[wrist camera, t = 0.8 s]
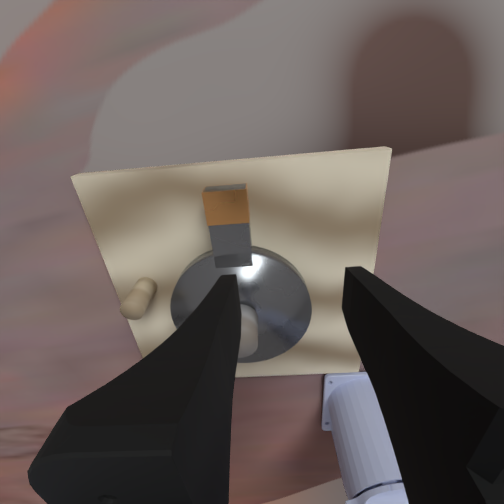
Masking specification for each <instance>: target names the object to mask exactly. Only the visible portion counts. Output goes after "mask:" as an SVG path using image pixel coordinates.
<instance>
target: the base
mask: <svg viewBox="0 0 504 504" xmlns="http://www.w3.org/2000/svg"><path fill="white" fill-rule="evenodd" d="M391 152H392V149H391V148H388V147H375V148H363V149H351V150H339V151H328V152H317V153H305V154H294V155H282V156H271V157H259V158H248V159H236V160H225V161H213V162H203V163H191V164H179V165H168V166H157V167H145V168H135V169H134V168H133V169H122V170H110V171H99V172H88V173H79V174H76V175H74V176H71V179H72V182H73V184H74V187H75V189H76V192H77V194H78V197H79V199H80V202H81V204H82V207H83V209H84V212H85V214H86V217H87V219H88V222H89V224H90V227H91V229H92V232H93V234H94V237H95V239H96V242H97V244H98V247H99V249H100V252H101V254H102V257H103V259H104V262H105V264H106V267H107V269H108V272H109V274H110V277H111V279H112V282H113V284H114V287H115V289H116V292H117V294H118V297H119V299H120V302H121V304H122V305H121V306H120V312H121V314H122V315H123V316H124V317H125V318H127V319H128V322H129V324H130V327H131V329H132V332H133V334H134V337H135V339H136V342H137V344H138V347H139V349H140V352H141V354H142V357H143V358H144V357H146V356H147V355H148V354H149V353H150V352H152V351H153V350H154V349H155V348H157V347H158V346H159V345H160V344H162V343H163V342H164V341H165V340H166V339H167V338H168V337H169V336H171V335H172V334H173V333H174V332H175V331H176V330H177V329H176V327H175V325H174V323H173V320H172V316H171V310H170V303H171V296H172V293H173V290H174V288H175V285H176V283H177V281H178V279H179V277H180V275H181V273H182V272H183V270H184V269H185V268H186V266H187V265H188V264H189V263H190V262H191V261H193V260H194V259H195V258H197V257H198V256H200V255H202V254H203V253H205V252H207V251H210V250H212V244H211V238H210V232H209V227H208V226H207V221H206V216H205V210H204V204H203V199H202V191H203V189H204V188H205V186H217V185H229V184H241V183H247V188H248V199H249V209H250V228H251V239H252V246H257V247H261V248H265V249H268V250H270V251H273V252H275V253H277V254H279V255H281V256H282V257H284V258H285V259H287V260H288V261H289V262H290V263H292V264H293V265H294V266H295V267H296V268H297V270H298V271H299V272H300V273H301V275H302V277H303V278H304V280H305V283H306V285H307V288H308V292H309V296H310V300H311V305H312V315H311V320H310V324H309V326H308V329H307V331H306V332H305V334H304V335H303V337H302V338H301V339H300V340H299V342H298V343H297V344H296V345H294V346H293V347H292V348H291V349H289V350H288V351H286V352H285V353H283V354H281V355H279V356H276V357H274V358H271V359H268V360H264V361H259V362H252V363H237V367H236V374H235V377H256V376H279V375H303V374H326V373H350V372H359V367H360V360H361V359H360V356H359V354H358V352H357V350H356V347H355V345H354V343H353V340H352V338H351V336H350V333H349V331H348V328H347V325H346V322H345V318H344V315H343V311H342V297H343V286H344V274H345V267H354V266H362V267H363V268H365V269H366V270H368V271H369V272H371V273H372V274H373V273H374V267H375V260H376V253H377V246H378V240H379V233H380V226H381V220H382V213H383V206H384V199H385V193H386V186H387V179H388V173H389V166H390V159H391ZM240 305H241V312H242V318H241V340H240V347H239V354H238V358H243V357H247V356H250V355H252V354H253V353H254V352H255V351H256V350H257V347H258V315H257V313H256V311H255V310H254V309H253V308H251V307H249V306H247V305H242V304H240Z"/></svg>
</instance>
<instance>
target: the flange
mask: <svg viewBox="0 0 504 504" xmlns="http://www.w3.org/2000/svg"><path fill="white" fill-rule="evenodd" d="M202 199H203V204H204V210H205V216H206V221H207V226H208V227H209V232H210V238H211V244H212V250H210V251H207V252H205V253H203V254H202V255H200V256H198V257H197V258H195V259H194V260H193V261H191V262H190V263H189V264H188V265H187V266H186V268H185V269H184V270H183V272H182V273H181V275H180V277H179V279H178V281H177V283H176V285H175V288H174V290H173V293H172V296H171V303H170V310H171V316H172V320H173V323H174V325H175V327H176V329H178V328H179V327H180V326H181V325H182V324H183V323H184V321H185V320H186V319H187V318H188V317H189V316H190V315H191V313H192V312H193V311H194V310H195V309H196V308H197V307H198V305H199V304H200V303H201V301H202V300H203V299H204V298H205V296H206V295H207V294H208V292H209V291H210V290H211V288H212V287H213V285H214V284H215V283H216V281H217V280H218V278H219V277H220V276H221V275H229V274H236V276H237V283H238V290H239V298H240V304H242V305H247V306H249V307H251V308H253V309H254V310H255V311H256V313H257V315H258V347H257V350H256V351H255V352H254V353H253V354H252V355H250V356H247V357H243V358H238V361H237V363H252V362H259V361H264V360H268V359H271V358H274V357H276V356H279V355H281V354H283V353H285V352H286V351H288V350H289V349H291V348H292V347H293V346H294V345H296V344H297V343H298V342H299V340H300V339H301V338H302V337H303V335H304V334H305V332H306V331H307V329H308V326H309V324H310V320H311V315H312V305H311V300H310V296H309V292H308V288H307V285H306V283H305V280H304V278H303V277H302V275H301V273H300V272H299V271H298V270H297V268H296V267H295V266H294V265H293V264H292V263H290V262H289V261H288V260H287V259H285V258H284V257H282V256H281V255H279V254H277V253H275V252H273V251H270V250H268V249H265V248H261V247H257V246H252V239H251V228H250V209H249V199H248V188H247V183H241V184H229V185H217V186H205V188H204V189H203V191H202Z"/></svg>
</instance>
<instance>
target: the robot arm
mask: <svg viewBox="0 0 504 504" xmlns="http://www.w3.org/2000/svg"><path fill="white" fill-rule="evenodd" d="M342 311H343V315H344V318H345V322H346V325H347V328H348V331H349V333H350V336H351V338H352V340H353V343H354V345H355V347H356V350H357V352H358V354H359V356H360V359H361V361H362V363H363V365H364V368H365V370H366V372H350V373H328V374H326V375H325V376H324V390H323V407H322V424H321V426H322V430H324V431H332V436H333V440H334V445H335V449H336V454H337V458H338V463H339V467H340V471H341V476H342V480H343V485H344V488H345V492H346V494H347V496H348V499H349V500H346V501H345V503H346V504H504V346H503V345H500V344H498V343H495V342H493V341H491V340H489V339H486V338H484V337H482V336H479V335H477V334H475V333H472V332H470V331H468V330H466V329H464V328H462V327H460V326H458V325H456V324H454V323H452V322H450V321H448V320H446V319H444V318H442V317H440V316H438V315H436V314H435V313H433V312H431V311H429V310H427V309H426V308H424V307H422V306H421V305H419V304H417V303H416V302H414V301H412V300H411V299H409V298H408V297H406V296H404V295H403V294H401V293H400V292H398V291H397V290H395V289H394V288H392V287H391V286H389V285H388V284H387V283H385V282H384V281H382V280H381V279H379V278H378V277H376V276H375V275H374V274H372V273H371V272H369V271H368V270H366V269H365V268H363V267H362V266H354V267H345V274H344V286H343V297H342ZM241 318H242V312H241V305H240V298H239V290H238V283H237V276H236V274H229V275H221V276H220V277H219V278H218V280H217V281H216V283H215V284H214V285H213V287H212V288H211V290H210V291H209V292H208V294H207V295H206V296H205V298H204V299H203V300H202V301H201V303H200V304H199V305H198V307H197V308H196V309H195V310H194V311H193V312H192V313H191V315H190V316H189V317H188V318H187V319H186V320H185V321H184V323H183V324H182V325H181V326H180V327H179V328H178V329H177V330H176V331H175V332H174V333H173V334H172V335H171V336H169V337H168V338H167V339H166V340H165V341H164V342H163V343H162V344H160V345H159V346H158V347H157V348H155V349H154V350H153V351H152V352H150V353H149V354H148V355H147V356H146V357H144V358H143V359H142V360H140V361H139V362H138V363H136V364H135V365H134V366H132V367H131V368H129V369H128V370H127V371H125V372H124V373H122V374H121V375H119V376H118V377H116V378H115V379H113V380H112V381H110V382H109V383H107V384H106V385H104V386H102V387H101V388H99V389H97V390H96V391H94V392H92V393H91V394H89V395H87V396H86V397H84V398H82V399H81V400H79V401H77V402H75V403H74V404H72V405H70V406H68V407H67V408H66V410H65V411H64V413H63V414H62V416H61V417H60V419H59V420H58V422H57V423H56V425H55V427H54V428H53V430H52V431H51V433H50V435H49V436H48V438H47V439H46V441H45V443H44V444H43V446H42V448H41V449H40V451H39V452H38V454H37V456H36V457H35V459H34V461H33V462H32V464H31V466H30V468H29V470H28V478H29V483H30V485H31V486H32V488H33V489H34V490H35V492H36V493H37V494H38V495H39V496H40V497H41V498H42V499H43V500H44V501H45V502H46V503H47V504H228V503H229V468H230V441H231V418H232V398H233V389H234V381H235V374H236V367H237V361H238V354H239V347H240V340H241Z"/></svg>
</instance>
